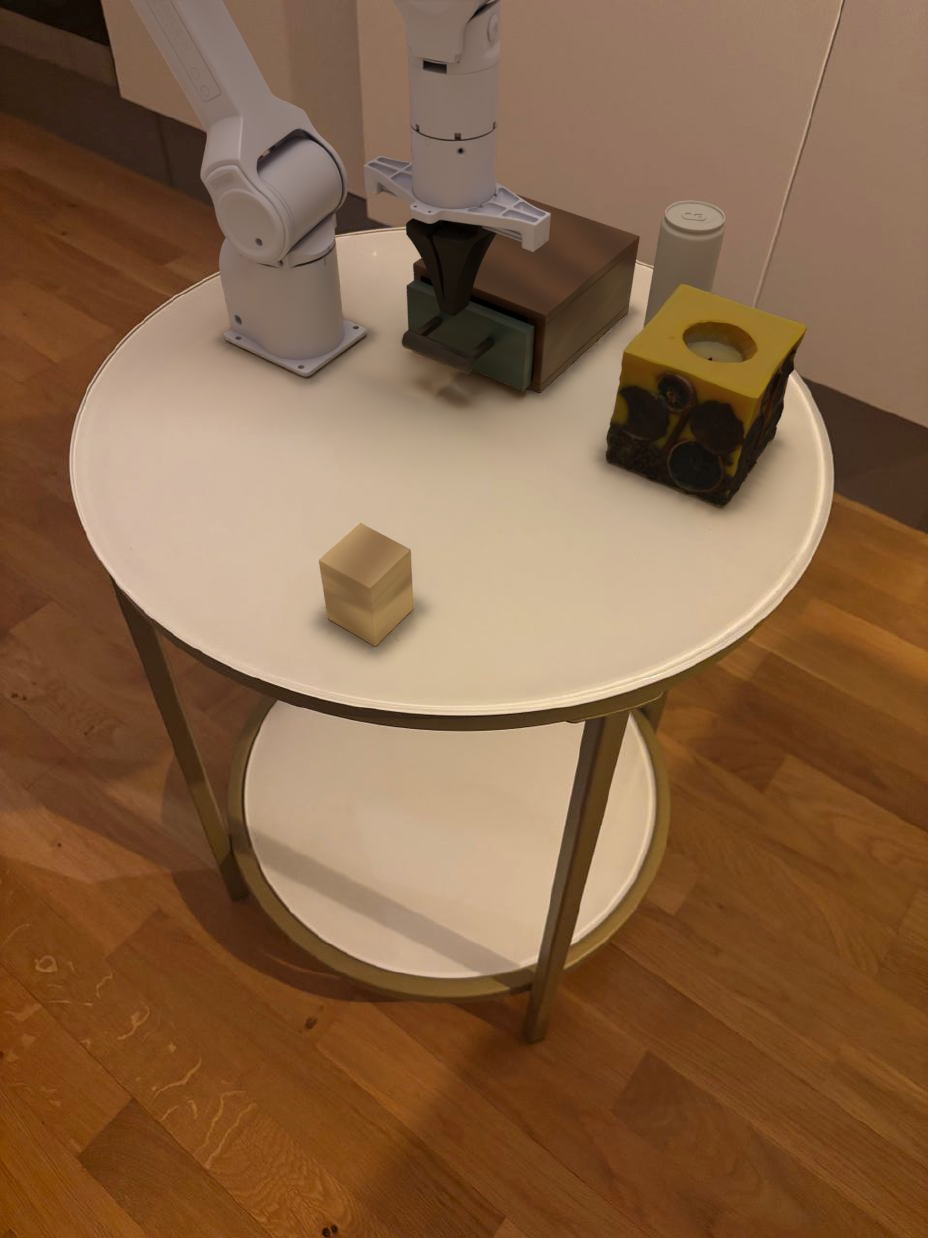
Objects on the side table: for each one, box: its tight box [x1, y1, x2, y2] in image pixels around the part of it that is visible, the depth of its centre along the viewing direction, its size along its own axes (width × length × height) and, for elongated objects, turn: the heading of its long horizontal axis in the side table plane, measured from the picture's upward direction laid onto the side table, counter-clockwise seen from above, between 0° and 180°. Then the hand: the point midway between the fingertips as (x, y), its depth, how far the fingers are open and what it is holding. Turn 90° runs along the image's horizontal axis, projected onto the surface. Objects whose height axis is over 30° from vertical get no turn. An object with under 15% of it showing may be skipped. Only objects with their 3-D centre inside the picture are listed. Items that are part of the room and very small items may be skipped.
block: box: [318, 522, 415, 647], centre depth 61 cm, size 4×4×6 cm
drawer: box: [401, 279, 537, 392], centre depth 80 cm, size 18×11×5 cm, turn 145°
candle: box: [605, 284, 808, 508], centre depth 70 cm, size 10×10×10 cm
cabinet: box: [412, 193, 641, 393], centre depth 82 cm, size 15×13×7 cm
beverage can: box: [642, 199, 727, 329], centre depth 78 cm, size 5×5×12 cm
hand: (454, 307), depth 74 cm, fingers closed
